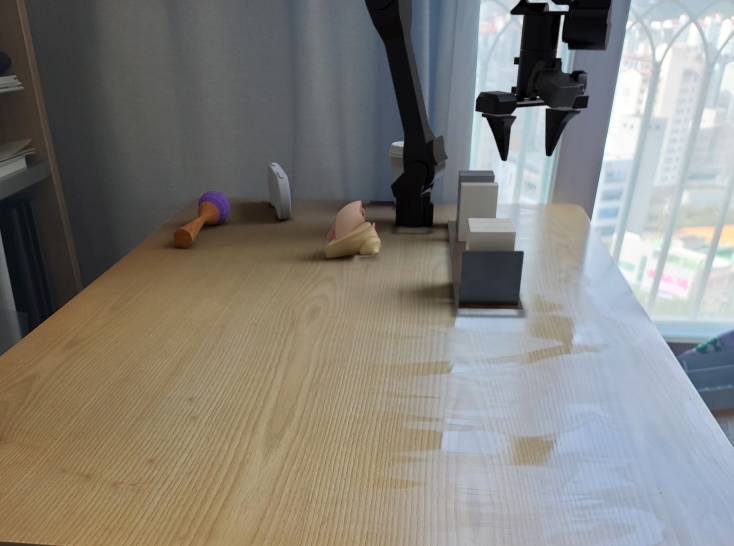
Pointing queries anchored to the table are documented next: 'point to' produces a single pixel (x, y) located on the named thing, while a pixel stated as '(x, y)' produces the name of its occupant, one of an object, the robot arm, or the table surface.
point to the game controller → (279, 191)
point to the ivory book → (476, 204)
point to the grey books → (472, 177)
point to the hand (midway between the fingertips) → (526, 158)
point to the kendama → (204, 217)
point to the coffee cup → (396, 160)
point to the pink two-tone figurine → (352, 233)
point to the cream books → (490, 234)
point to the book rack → (484, 276)
